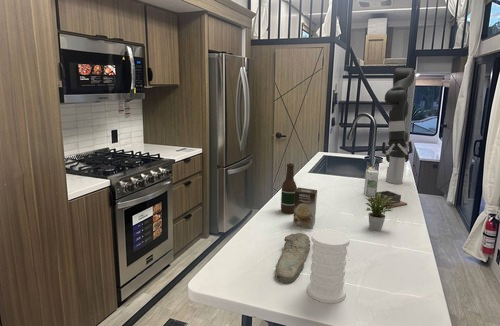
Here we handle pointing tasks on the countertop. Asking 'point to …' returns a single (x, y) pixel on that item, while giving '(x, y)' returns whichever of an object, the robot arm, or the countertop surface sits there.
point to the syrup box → (371, 182)
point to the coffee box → (305, 207)
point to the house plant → (377, 212)
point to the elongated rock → (292, 257)
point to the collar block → (389, 194)
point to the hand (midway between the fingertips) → (397, 161)
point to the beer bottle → (288, 191)
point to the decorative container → (328, 266)
